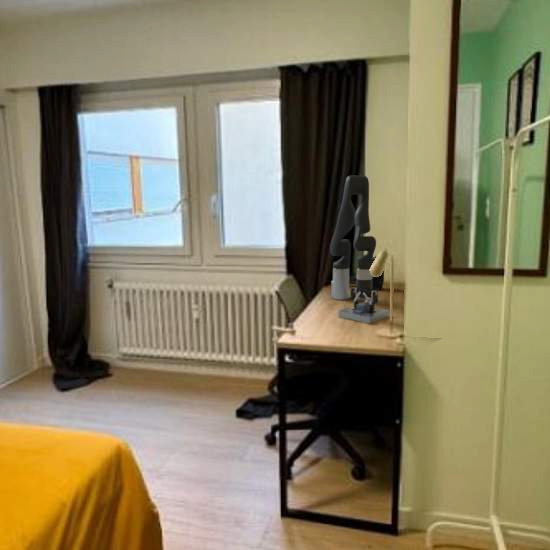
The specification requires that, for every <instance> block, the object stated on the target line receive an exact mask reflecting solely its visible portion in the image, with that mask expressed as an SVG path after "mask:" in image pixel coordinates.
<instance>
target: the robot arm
mask: <svg viewBox="0 0 550 550" xmlns="http://www.w3.org/2000/svg"><path fill="white" fill-rule="evenodd" d="M353 195H361V201H360V204H359V205H358V207H357V209H356V208H355V206H354V203H353V202H352V199H351V197H352V196H353ZM369 204H370V182H369V178H368V177H367V176H366V175H349V176H347V177H346V179H345V183H344V187H343V195H342V201H341V204H340V210H339V211H338V212H339V213H338V216H337V221H336V226H335V230H334V233H333V236H332V238H331V241H330V245H329V253H330V255H331V256H333V257H341V258H340V259H338V260H337V261H334V262H333V264H332V280H331V285H330V288H331V296H330V297H331V298H333V299H334V300H340V301H341V300H348V299H350V300H351V301H353V303H354V304H353V306H354V308H355V309H356V305H357V304H360V302H359V300H360V299H364V300H366V301H368V303H370V306H369V312H373V311H374V307H375V304H378V303H379V296H378V295H379V294H378V291H377V290H372V275H371V274H370V271H369V269H370V267H371V265H372V258H373V257H374V255H375V254H374V253H375V251H376V246H377V239H376V238H375V237H374V236H372V235H371V236H370V235H367V236H362V235H365V234H367V233H369V232H370V231H371V222H370V210H369V209H370V208H369V207H370V206H369ZM353 227H354V229H355V232H354V233H355V234H354V240H353V249H354V250H355V251H357V252H366V253H365V254H363V255H360V256H357V259H356V277H355V278H356V284H355V285H356V287H351V289H350V283H349V277H350V266H351V265H350V264H351V252H352V246H351V245H352V244H351V241H350V239H346V238H345V239H343V237H344V236H346V235H347V234H348V233H349V232H350V231H351V230H352V229H353Z"/></svg>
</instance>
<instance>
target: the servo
mask: <svg viewBox="0 0 550 550" xmlns="http://www.w3.org/2000/svg"><path fill="white" fill-rule="evenodd" d="M369 306H370V303H369V302H368V301H367V300H364V301H363V302H359V304H357V305H356V310H354V311H353V313H357V314H361V313H370V314H372V312H369ZM375 308H376V307H375V306H374V309H375Z"/></svg>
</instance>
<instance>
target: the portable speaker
mask: <svg viewBox="0 0 550 550" xmlns="http://www.w3.org/2000/svg"><path fill="white" fill-rule="evenodd" d="M375 258H376V256H373V258H372V263H373V261H374V260H375ZM384 281H385V270H384V271H383V273H382V275H381V276H379V277H373V276H372V291H377V290H383V287H384Z"/></svg>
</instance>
